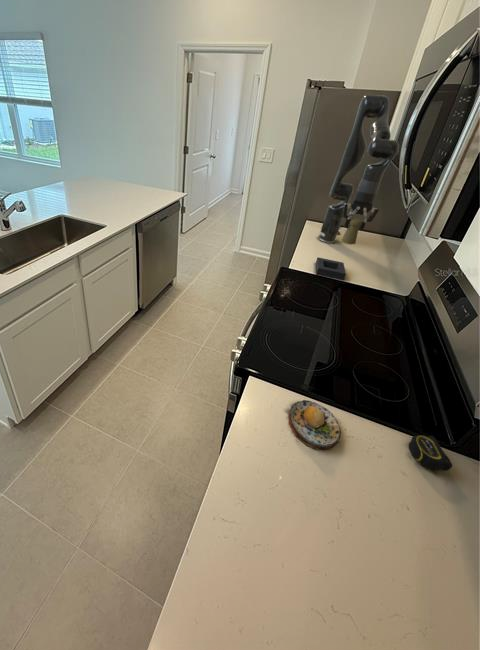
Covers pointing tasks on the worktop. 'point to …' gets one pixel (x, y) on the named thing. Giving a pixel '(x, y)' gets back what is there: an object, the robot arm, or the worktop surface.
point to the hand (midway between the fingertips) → (353, 228)
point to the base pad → (330, 268)
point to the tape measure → (429, 453)
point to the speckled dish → (314, 425)
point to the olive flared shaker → (352, 231)
